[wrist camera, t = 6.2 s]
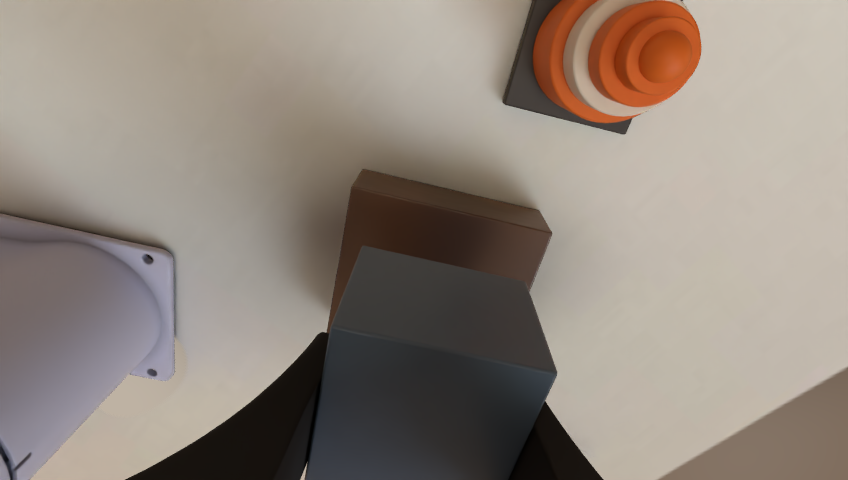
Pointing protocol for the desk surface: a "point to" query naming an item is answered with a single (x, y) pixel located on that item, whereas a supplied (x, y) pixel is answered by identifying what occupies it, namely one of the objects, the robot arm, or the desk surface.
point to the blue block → (428, 374)
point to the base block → (439, 229)
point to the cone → (602, 59)
